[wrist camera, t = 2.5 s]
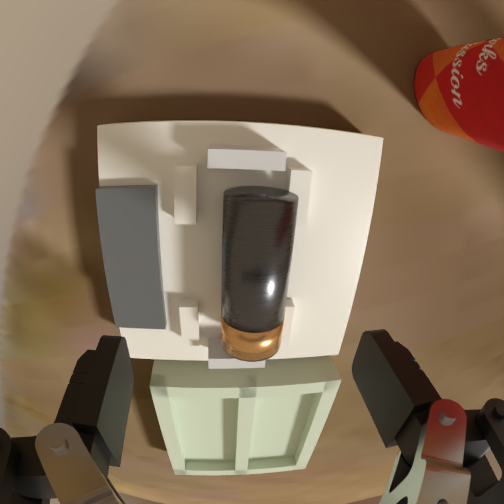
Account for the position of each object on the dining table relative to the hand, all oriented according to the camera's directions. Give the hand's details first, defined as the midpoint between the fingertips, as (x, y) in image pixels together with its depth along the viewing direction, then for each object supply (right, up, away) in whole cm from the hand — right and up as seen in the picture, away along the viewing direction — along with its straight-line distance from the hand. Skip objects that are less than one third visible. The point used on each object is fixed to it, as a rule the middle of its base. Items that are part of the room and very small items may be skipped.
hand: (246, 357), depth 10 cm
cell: (0, +3, +6) cm, 7 cm away
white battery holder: (-1, +4, +9) cm, 10 cm away
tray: (-1, -11, +16) cm, 20 cm away
